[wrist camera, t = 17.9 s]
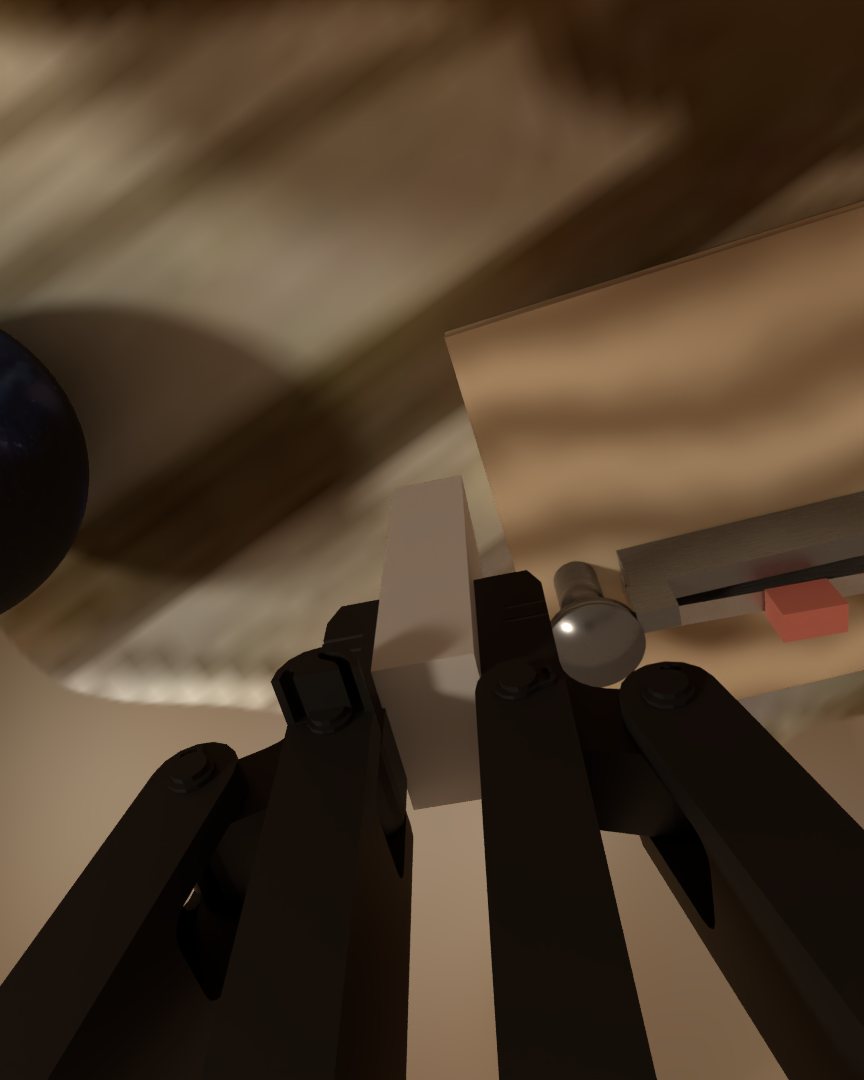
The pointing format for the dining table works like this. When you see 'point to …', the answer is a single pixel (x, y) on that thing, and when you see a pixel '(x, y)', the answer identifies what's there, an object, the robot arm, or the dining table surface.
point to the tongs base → (718, 603)
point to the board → (681, 422)
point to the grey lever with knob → (698, 580)
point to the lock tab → (806, 610)
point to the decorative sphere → (36, 473)
